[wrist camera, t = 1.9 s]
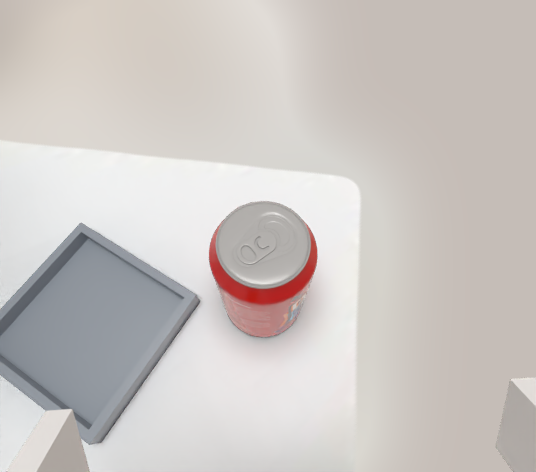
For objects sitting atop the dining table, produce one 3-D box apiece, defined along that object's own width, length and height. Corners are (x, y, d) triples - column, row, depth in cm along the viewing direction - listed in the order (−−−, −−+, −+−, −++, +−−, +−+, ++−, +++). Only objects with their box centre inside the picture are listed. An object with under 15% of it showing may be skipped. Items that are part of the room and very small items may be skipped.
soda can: (210, 293, 39) (182, 231, 26) (270, 251, 41) (273, 173, 28) (255, 355, 37) (251, 323, 23) (316, 307, 39) (345, 251, 25)
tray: (-17, 351, 37) (-35, 347, 34) (90, 232, 42) (80, 222, 40) (101, 442, 33) (89, 444, 31) (200, 301, 39) (196, 294, 37)
